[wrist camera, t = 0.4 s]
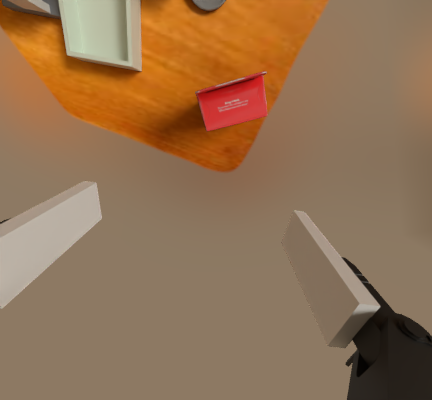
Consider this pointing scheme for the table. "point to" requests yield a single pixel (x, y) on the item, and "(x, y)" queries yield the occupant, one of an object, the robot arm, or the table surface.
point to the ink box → (233, 102)
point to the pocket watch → (208, 4)
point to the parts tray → (103, 31)
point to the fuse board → (35, 7)
